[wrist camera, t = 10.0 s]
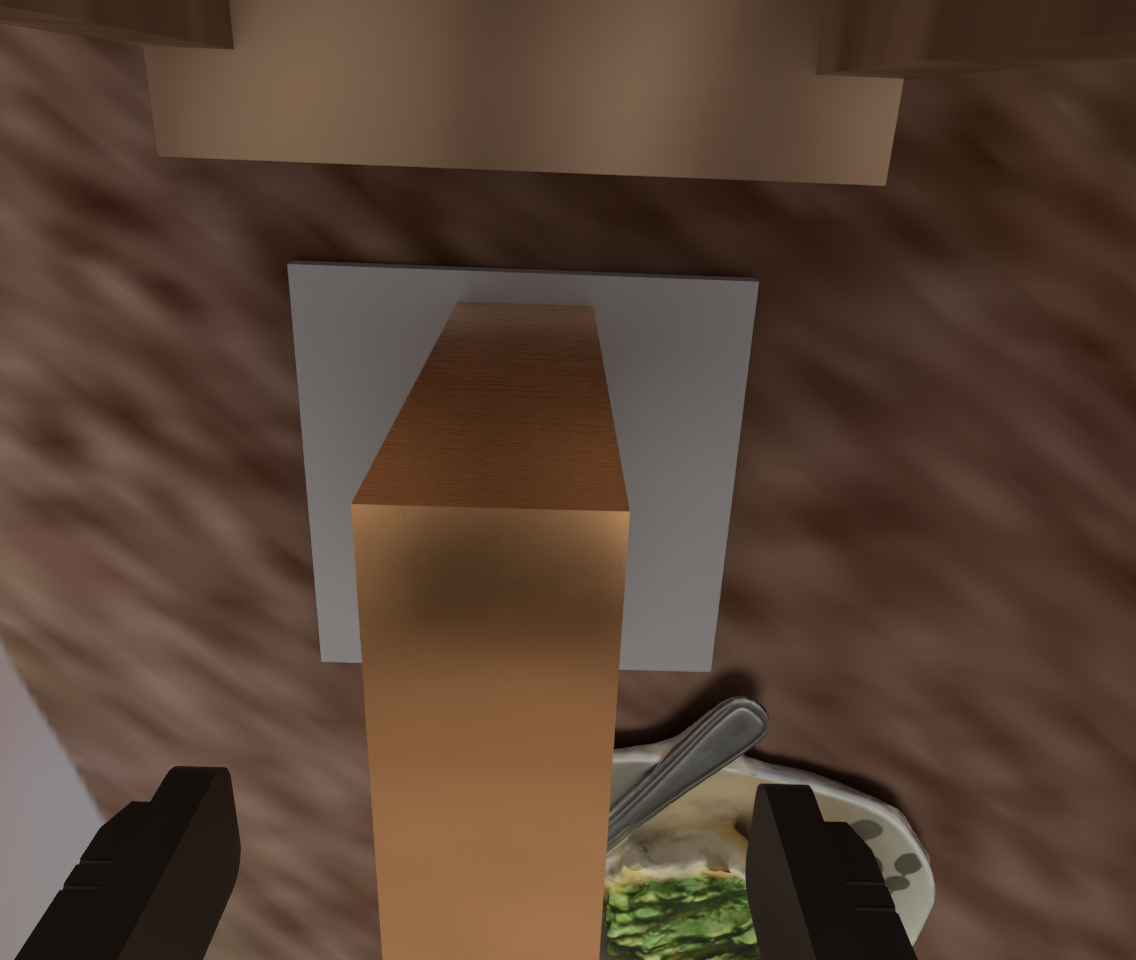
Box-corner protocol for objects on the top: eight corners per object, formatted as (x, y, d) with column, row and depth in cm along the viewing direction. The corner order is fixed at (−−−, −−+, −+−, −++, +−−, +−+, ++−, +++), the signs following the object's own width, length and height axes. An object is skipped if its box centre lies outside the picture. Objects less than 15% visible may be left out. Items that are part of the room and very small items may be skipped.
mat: (753, 277, 23) (758, 281, 22) (707, 660, 27) (710, 671, 27) (294, 260, 22) (287, 263, 22) (326, 650, 27) (321, 661, 27)
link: (593, 305, 22) (629, 510, 11) (577, 645, 27) (592, 1056, 15) (457, 301, 22) (350, 503, 11) (462, 643, 26) (389, 1053, 15)
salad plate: (499, 607, 27) (488, 700, 23) (1013, 732, 29) (1090, 838, 25) (377, 1013, 34) (352, 1140, 30) (796, 1090, 36) (828, 1219, 32)
